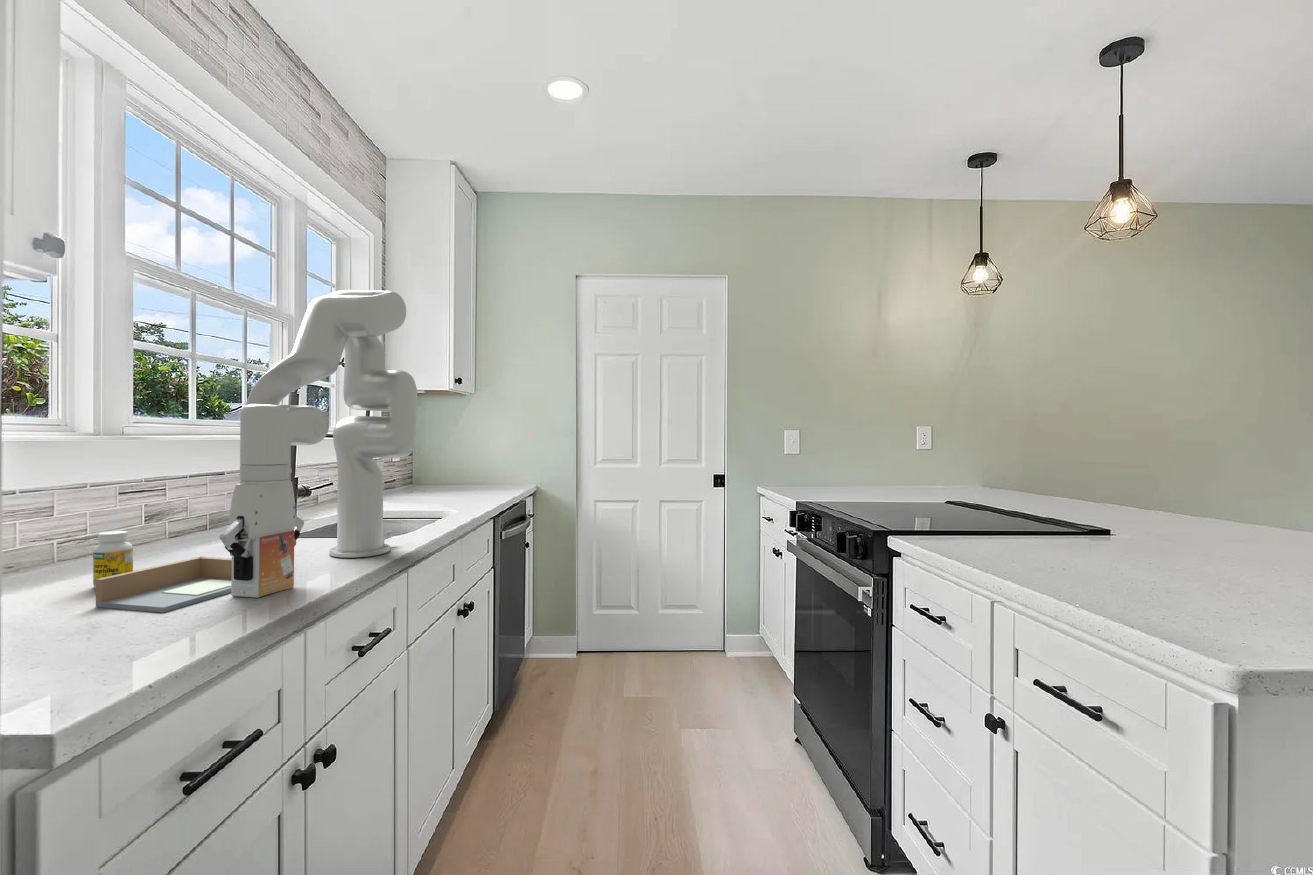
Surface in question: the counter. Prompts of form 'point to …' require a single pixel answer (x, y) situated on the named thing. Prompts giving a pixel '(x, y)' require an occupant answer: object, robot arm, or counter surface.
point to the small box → (268, 565)
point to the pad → (200, 587)
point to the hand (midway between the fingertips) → (264, 573)
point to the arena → (162, 585)
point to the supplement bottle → (112, 555)
